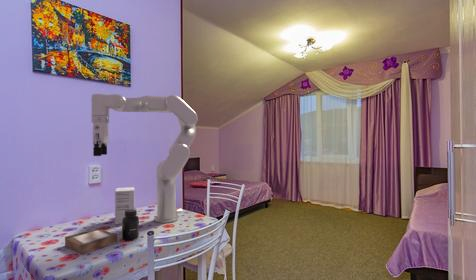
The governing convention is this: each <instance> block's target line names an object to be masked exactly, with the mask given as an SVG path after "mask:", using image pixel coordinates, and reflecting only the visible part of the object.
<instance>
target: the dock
mask: <svg viewBox="0 0 476 280" xmlns="http://www.w3.org/2000/svg"><path fill="white" fill-rule="evenodd" d="M117 243H118V233H112V232H110V231H108V230H106V229H102V227H96V228H92V229H88V230H85V231H81V232H78V233H74V234H71V235H67V236H64V246H65V247H67V248H68V249H70V250H72V251H73V252H75V253H77V254H79V255H81V256H82V255H85V254H88V253H91V252H93V251H97V250H99V249H102V248H106V247H108V246H111V245H114V244H117Z"/></svg>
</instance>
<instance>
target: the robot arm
mask: <svg viewBox="0 0 476 280" xmlns="http://www.w3.org/2000/svg"><path fill="white" fill-rule="evenodd" d="M90 98H91V102H90V103H91V123H93V124H92V142H93V143H92V144H93V145H92V147H93V149H92V150H93V153H92V154H93V156H94V157H101V156H102V155H108V143H110V137H109V136H110V134H109V133H110V131H109V123H110V109H111V110H113V111H115V112H121V113H122V112H124V113H169V114H171V113H172V114H173V115H174V116H175V117H176V118H178V124H179V126H180V131H179V134H178V136H177V138H176V139H175V141H174V142H173V143H172V144H171V147H169V149H168V156H167V157H166V158H165V159H163V160H162V161H160V162H159V163H158V164H157V166H156V182H157V183H156V200H157V201H156V202H157V203H156V207H157V209H156V210H157V211H156V216H155V217H154V218H153V220H154V222H155V223H158V224H160V223H162V224H165V223H169V224H170V223H174V222H176V221H178V220H179V218H180V217H179V215H178V214H180V213H183V209H182V208H179V209H177V208H176V206H177V205H176V204H177V203H176V201H177V200H176V199H177V198H176V196H177V195H176V189H177V184H176V179H177V177H179V175H180V173H181V172H182V170H183V169H184V167H185V166H186V164H187V163H188V160H189V159H190V155H191V150H190V147H191V146H192V144H193V142H194V140H195V139H196V134H197V127H196V125H197V123H198V120H199V117H198V114H197V112H195V110H194V109H192V108H191V107H190V106H189V105H188V104H187V103H186V102H185V101H184V100H183V99H182V98H181V97H180V96H178V95H176V94H171V95H168V96H161V95H160V96H159V95H143V96H140V97H125V96H124V95H121V94H119V93H114V94H103V93H94V94H91V97H90Z"/></svg>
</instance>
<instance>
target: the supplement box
mask: <svg viewBox="0 0 476 280" xmlns="http://www.w3.org/2000/svg"><path fill="white" fill-rule="evenodd" d="M135 193H136V192H135V187H134V186H130V187H129V186H128V187H127V186H126V187H116V188H115V191H114V220H115V221H114V224H115V225H122V219H123V218H124V217H125V211H126V210H130V209H135V207H136V205H135V202H136V201H135V199H136V198H135V195H136V194H135ZM135 210H136V209H135Z"/></svg>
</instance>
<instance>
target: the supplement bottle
mask: <svg viewBox="0 0 476 280" xmlns="http://www.w3.org/2000/svg"><path fill="white" fill-rule="evenodd" d="M137 211H138V210H137V209H130V210H126V211H125V217H124V218H123V219H122V224H121V240H123V241H126V242H129V241H135V240H137V239H139V237H140V236H139V234H140V233H139V231H140V230H139V229H140V224H139V223H140V217H139V216H138V215H137V214H138V212H137Z"/></svg>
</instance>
